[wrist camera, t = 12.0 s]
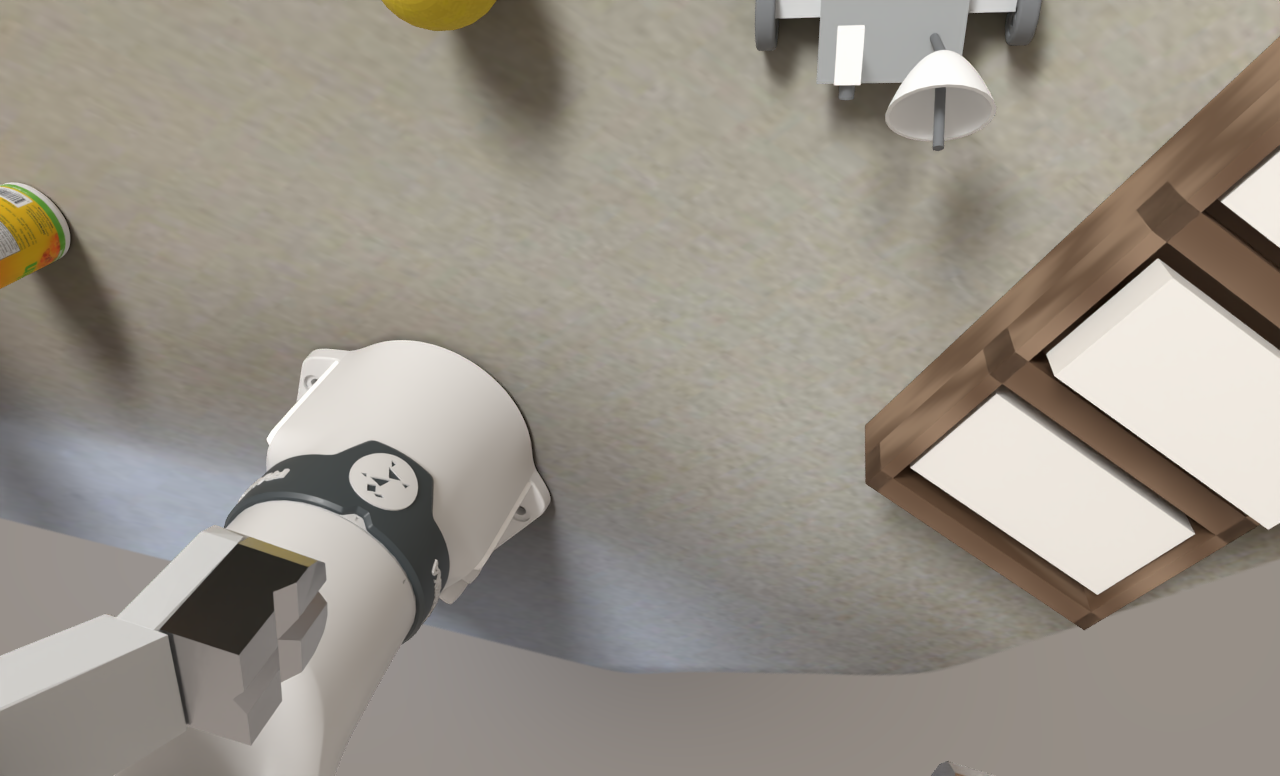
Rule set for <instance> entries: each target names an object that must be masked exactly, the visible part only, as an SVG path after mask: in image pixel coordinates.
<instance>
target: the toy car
mask: <svg viewBox="0 0 1280 776" xmlns="http://www.w3.org/2000/svg"><path fill="white" fill-rule="evenodd" d="M1041 2H1042V0H756V7H755V40H756V47H757V49H758V50H759V51H768V50H775V49H776V46H777V40H778V30H779V18H811V17H820V30H819V49H818V68H817V84H834V85H839V97H838V98H839V99H841V100H851V99H854V91H855V85H861V83H902V84H901V85H900V87H899V89H898V90H897V92H896V94H895V95H894V97H893V99H892V101H891V103H890V105H889V107H888V109H887V111H886V114H885V120H886V123H887V125H888V127H889V128H890V129H891V130H892V131H894V132H895V133H896V134H898V135H901V136H903V137H906V138H909V139H914V140H918V141H933V150H935V151H940V150H942V149H943V148H944V141H947V140H952V139H957V138H961V137H964V136H967V135H970V134H973V133H975V132H977V131H979V130H980V129H982V128H984V127H985V126H986V125H987V124H989V123H990V122H991V120H992V119H993V117H994V116H995V114H996V104H995V102H994V99H993V97H992V95H991V93H990V91H989V90H988V88H987V86H986V84H985V82H984V81H983V79H982V78H981V76H980V75H979V73H978V72H977V71H976V69H975V68H974V67H973V66H972V65H971V64H970V63H969V62H968V61H967V60H966V59H965V58H964V57H963V56H962V53H963V46H964V39H965V31H966V24H967V17H968V13H984V12H1008V14H1007V17H1006V23H1005V38H1006V42H1007V44H1008V45H1027V44H1029V43H1030V42H1031V40H1032V38H1033V36H1034V33H1035V30H1036V27H1037V23H1038V19H1039V14H1040V9H1041Z"/></svg>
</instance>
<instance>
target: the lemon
mask: <svg viewBox="0 0 1280 776" xmlns="http://www.w3.org/2000/svg"><path fill="white" fill-rule="evenodd" d="M382 1H383V3H384V4H385V5H386V7H387V8H388V9H389V10H391V11H392V12H393V13H394V14H395V15H396V16H397V17H399V18H400V19H402V20H404V21H406V22H408V23H409V24H411V25H413V26H416V27H420V28H424V29H428V30H433V31H445V30H456V29H459V28H462V27H465V26H468V25H471V24H473V23H474V22H476V21H477V20H478V19H480V18H481V17H482V16H484V15H485V14H486V13H488V11H489V10H490V9H491V7H492V6H493V5H494V3H495V2H496V1H497V0H382Z"/></svg>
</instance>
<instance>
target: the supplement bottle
mask: <svg viewBox="0 0 1280 776" xmlns="http://www.w3.org/2000/svg"><path fill="white" fill-rule="evenodd" d="M69 246H70V231H69V227H68V224H67V222H66V220H65V218H64V216H63V215H62V213H61V212H60V210H59V209H58V208H57V207H56V205H55V204H54V203H53V202H52V201H51V200H50V199H49V198H48V197H46V196H45V195H44V194H42V193H41V192H39V191H38V190H36V189H35V188H33V187H31V186H28V185H25V184H21V183H6V184H3V185H0V289H1V288H3V287H5V286H7V285H9V284H11V283H13V282H15V281H17V280H19V279H21V278H23V277H25V276H27V275H29V274H31V273H33V272H35V271H37V270H39V269H41V268H43V267H45V266H47V265H49V264H50V263H52V262H54V261H56V260H58V259H60V258H62V257H63V256H64V255H65V254H66V253H67V251H68V249H69Z"/></svg>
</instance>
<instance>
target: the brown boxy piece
mask: <svg viewBox="0 0 1280 776" xmlns="http://www.w3.org/2000/svg"><path fill="white" fill-rule="evenodd" d="M1279 145H1280V37H1278V38H1277V39H1276V40H1275V41H1274V42H1273V43H1272V44H1271V45H1270V46H1269V47H1268V48H1267V49H1266V50H1265V51H1264V52H1262V53H1261V54H1260V55H1259V56H1258V57H1257V58H1256V59H1255V60H1254V61H1253V62H1252V63H1251V64H1250V65H1249V66H1248V67H1247V68H1245V69H1244V70H1243V71H1242V72H1241V73H1240V74H1239V75H1238V76H1237V77H1236V78H1235V79H1234V80H1233V81H1232V82H1231V83H1229V84H1228V85H1227V86H1226V87H1225V88H1224V89H1223V90H1222V91H1221V92H1220V93H1219V94H1218V95H1217V96H1216V97H1215V98H1213V99H1212V100H1211V101H1210V102H1209V103H1208V104H1207V105H1206V106H1205V107H1204V108H1203V109H1202V110H1201V111H1200V112H1199V113H1198V114H1196V115H1195V116H1194V117H1193V118H1192V119H1191V120H1190V121H1189V122H1188V123H1187V124H1186V125H1185V126H1184V127H1183V128H1182V129H1180V130H1179V131H1178V132H1177V133H1176V134H1175V135H1174V136H1173V137H1172V138H1171V139H1170V140H1169V141H1168V142H1167V143H1166V144H1165V145H1163V146H1162V147H1161V148H1160V149H1159V150H1158V151H1157V152H1156V153H1155V154H1154V155H1153V156H1152V157H1151V158H1150V159H1149V160H1147V161H1146V162H1145V163H1144V164H1143V165H1142V166H1141V167H1140V168H1139V169H1138V170H1137V171H1136V172H1135V173H1134V174H1133V175H1131V176H1130V177H1129V178H1128V179H1127V180H1126V181H1125V182H1124V183H1123V184H1122V185H1121V186H1120V187H1119V188H1118V189H1117V190H1116V191H1114V192H1113V193H1112V194H1111V195H1110V196H1109V197H1108V198H1107V199H1106V200H1105V201H1104V202H1103V203H1102V204H1101V205H1100V206H1098V207H1097V208H1096V209H1095V210H1094V211H1093V212H1092V213H1091V214H1090V215H1089V216H1088V217H1087V218H1086V219H1085V220H1084V221H1082V222H1081V223H1080V224H1079V225H1078V226H1077V227H1076V228H1075V229H1074V230H1073V231H1072V232H1071V233H1070V234H1069V235H1068V236H1067V237H1065V238H1064V239H1063V240H1062V241H1061V242H1060V243H1059V244H1058V245H1057V246H1056V247H1055V248H1054V249H1053V250H1052V251H1051V252H1049V253H1048V254H1047V255H1046V256H1045V257H1044V258H1043V259H1042V260H1041V261H1040V262H1039V263H1038V264H1037V265H1036V266H1035V267H1033V268H1032V269H1031V270H1030V271H1029V272H1028V273H1027V274H1026V275H1025V276H1024V277H1023V278H1022V279H1021V280H1020V281H1019V282H1018V283H1016V284H1015V285H1014V286H1013V287H1012V288H1011V289H1010V290H1009V291H1008V292H1007V293H1006V294H1005V295H1004V296H1003V297H1002V298H1000V299H999V300H998V301H997V302H996V303H995V304H994V305H993V306H992V307H991V308H990V309H989V310H988V311H987V312H986V313H984V314H983V315H982V316H981V317H980V318H979V319H978V320H977V321H976V322H975V323H974V324H973V325H972V326H971V327H970V328H969V329H967V330H966V331H965V332H964V333H963V334H962V335H961V336H960V337H959V338H958V339H957V340H956V341H955V342H954V343H953V344H951V345H950V346H949V347H948V348H947V349H946V350H945V351H944V352H943V353H942V354H941V355H940V356H939V357H938V358H937V359H935V360H934V361H933V362H932V363H931V364H930V365H929V366H928V367H927V368H926V369H925V370H924V371H923V372H922V373H921V374H920V375H918V376H917V377H916V378H915V379H914V380H913V381H912V382H911V383H910V384H909V385H908V386H907V387H906V388H905V389H904V390H902V391H901V392H900V393H899V394H898V395H897V396H896V397H895V398H894V399H893V400H892V401H891V402H890V403H889V404H888V405H886V406H885V407H884V408H883V409H882V410H881V411H880V412H879V413H878V414H877V415H876V416H875V417H874V418H873V419H872V420H871V421H869V422H868V423H867V424H866V425H865V476H866V484H867V485H868V486H870V487H871V488H873V489H874V490H876V491H877V492H879V493H880V494H882V495H883V496H885V497H886V498H888V499H889V500H891V501H892V502H894V503H895V504H897V505H898V506H900V507H901V508H903V509H904V510H906V511H907V512H909V513H910V514H912V515H913V516H915V517H916V518H918V519H919V520H921V521H922V522H924V523H925V524H927V525H928V526H930V527H931V528H933V529H934V530H935V531H937V532H938V533H940V534H941V535H943V536H944V537H946V538H947V539H949V540H950V541H952V542H953V543H955V544H956V545H958V546H959V547H961V548H962V549H964V550H965V551H967V552H968V553H970V554H971V555H973V556H974V557H976V558H977V559H979V560H980V561H982V562H983V563H985V564H986V565H988V566H989V567H991V568H992V569H994V570H995V571H997V572H998V573H1000V574H1001V575H1003V576H1004V577H1006V578H1007V579H1009V580H1010V581H1012V582H1013V583H1015V584H1016V585H1018V586H1019V587H1021V588H1022V589H1024V590H1025V591H1026V592H1028V593H1029V594H1031V595H1032V596H1034V597H1035V598H1037V599H1038V600H1040V601H1041V602H1043V603H1044V604H1046V605H1047V606H1049V607H1050V608H1052V609H1053V610H1055V611H1056V612H1058V613H1059V614H1061V615H1062V616H1064V617H1065V618H1067V619H1068V620H1070V621H1071V622H1073V623H1074V624H1076V625H1077V626H1079V627H1080V628H1082V629H1083V630H1085V629H1087V628H1089V627H1091V626H1092V625H1094V624H1096V623H1097V622H1099V621H1101V620H1102V619H1104V618H1106V617H1107V616H1109V615H1111V614H1112V613H1114V612H1116V611H1117V610H1119V609H1121V608H1122V607H1124V606H1126V605H1127V604H1129V603H1131V602H1132V601H1134V600H1135V599H1137V598H1139V597H1140V596H1142V595H1144V594H1145V593H1147V592H1149V591H1150V590H1152V589H1154V588H1155V587H1157V586H1159V585H1160V584H1162V583H1164V582H1165V581H1167V580H1169V579H1170V578H1172V577H1174V576H1175V575H1177V574H1179V573H1180V572H1182V571H1184V570H1185V569H1187V568H1189V567H1190V566H1192V565H1194V564H1195V563H1197V562H1199V561H1200V560H1202V559H1204V558H1205V557H1207V556H1209V555H1210V554H1212V553H1214V552H1215V551H1217V550H1219V549H1220V548H1222V547H1224V546H1225V545H1227V544H1229V543H1230V542H1232V541H1234V540H1235V539H1237V538H1239V537H1240V536H1242V535H1244V534H1245V533H1247V532H1249V531H1250V530H1252V529H1254V528H1255V527H1257V526H1259V525H1260V523H1258V522H1257V521H1256V520H1254V519H1253V518H1251V517H1250V516H1249V515H1247V514H1246V513H1244V512H1243V511H1242V510H1240V509H1239V508H1237V507H1236V506H1235V505H1233V504H1232V503H1230V502H1229V501H1228V500H1226V499H1225V498H1224V497H1222V496H1221V495H1219V494H1218V493H1217V492H1215V491H1214V490H1212V489H1211V488H1210V487H1208V486H1207V485H1205V484H1204V483H1203V482H1201V481H1200V480H1198V479H1197V478H1196V477H1194V476H1193V475H1191V474H1190V473H1189V472H1187V471H1186V470H1185V469H1183V468H1182V467H1180V466H1179V465H1178V464H1176V463H1175V462H1173V461H1172V460H1171V459H1169V458H1168V457H1166V456H1165V455H1164V454H1162V453H1161V452H1159V451H1158V450H1157V449H1155V448H1154V447H1152V446H1151V445H1150V444H1148V443H1147V442H1146V441H1144V440H1143V439H1141V438H1140V437H1139V436H1137V435H1136V434H1134V433H1133V432H1132V431H1130V430H1129V429H1127V428H1126V427H1125V426H1123V425H1122V424H1120V423H1119V422H1118V421H1116V420H1115V419H1114V418H1112V417H1111V416H1109V415H1108V414H1107V413H1105V412H1104V411H1102V410H1101V409H1100V408H1098V407H1097V406H1095V405H1094V404H1093V403H1091V402H1090V401H1088V400H1087V399H1086V398H1084V397H1083V396H1081V395H1080V394H1079V393H1077V392H1076V391H1075V390H1073V389H1072V388H1070V387H1069V386H1068V385H1066V384H1065V383H1063V382H1062V381H1061V380H1059V379H1058V378H1056V377H1055V376H1054V374H1053V371H1052V368H1051V366H1050V363H1049V360H1048V358H1047V355H1046V354H1047V353H1048V352H1049V351H1050V350H1051V349H1052V348H1054V347H1055V346H1056V345H1057V344H1058V343H1059V342H1061V341H1062V340H1063V339H1064V338H1065V337H1066V336H1068V335H1069V334H1070V333H1071V332H1072V331H1073V330H1075V329H1076V328H1077V327H1078V326H1079V325H1080V324H1082V323H1083V322H1084V321H1085V320H1086V319H1087V318H1089V317H1090V316H1091V315H1092V314H1093V313H1094V312H1096V311H1097V310H1098V309H1099V308H1100V307H1101V306H1103V305H1104V304H1105V303H1106V302H1107V301H1108V300H1110V299H1111V298H1112V297H1113V296H1114V295H1116V294H1117V293H1118V292H1119V291H1120V290H1121V289H1123V288H1124V287H1125V286H1126V285H1127V284H1128V283H1130V282H1131V281H1132V280H1133V279H1134V278H1135V277H1137V276H1138V275H1139V274H1140V273H1141V272H1142V271H1144V270H1145V269H1146V268H1147V267H1148V266H1149V265H1151V264H1152V263H1153V262H1154V261H1155V260H1156V259H1160V260H1161V261H1162V262H1164V263H1165V264H1166V265H1168V266H1169V267H1170V268H1172V269H1173V270H1174V271H1176V272H1177V273H1178V274H1180V275H1181V276H1182V277H1183V278H1185V279H1186V280H1187V281H1189V282H1190V283H1191V284H1193V285H1194V286H1195V287H1197V288H1198V289H1199V290H1201V291H1202V292H1203V293H1205V294H1206V295H1207V296H1209V297H1210V298H1211V299H1212V300H1214V301H1215V302H1216V303H1218V304H1219V305H1220V306H1222V307H1223V308H1224V309H1226V310H1227V311H1228V312H1230V313H1231V314H1232V315H1234V316H1235V317H1236V318H1238V319H1239V320H1240V321H1241V322H1243V323H1244V324H1245V325H1247V326H1248V327H1249V328H1251V329H1252V330H1253V331H1255V332H1256V333H1257V334H1259V335H1260V336H1261V337H1263V338H1264V339H1265V340H1267V341H1268V342H1269V343H1271V344H1272V345H1273V346H1274V347H1276V348H1277V349H1278V350H1280V248H1279V247H1278V246H1277V245H1276V244H1274V243H1273V242H1272V241H1270V240H1269V239H1268V238H1267V237H1265V236H1264V235H1263V234H1261V233H1260V232H1259V231H1258V230H1256V229H1255V228H1254V227H1252V226H1251V225H1250V224H1249V223H1247V222H1246V221H1245V220H1244V219H1242V218H1241V217H1240V216H1238V215H1237V214H1236V213H1235V212H1233V211H1232V210H1231V209H1229V208H1228V207H1227V206H1226V205H1224V204H1223V203H1222V202H1221V201H1220V200H1218V199H1217V198H1219V197H1220V196H1221V195H1222V194H1223V193H1224V192H1226V191H1227V190H1228V189H1229V188H1230V187H1231V186H1233V185H1234V184H1235V183H1236V182H1237V181H1238V180H1239V179H1241V178H1242V177H1243V176H1244V175H1245V174H1246V173H1248V172H1249V171H1250V170H1251V169H1252V168H1253V167H1255V166H1256V165H1257V164H1258V163H1259V162H1260V161H1262V160H1263V159H1264V158H1265V157H1266V156H1267V155H1268V154H1270V153H1271V152H1272V151H1273V150H1274V149H1275V148H1277V147H1278V146H1279ZM1002 384H1003V385H1005V386H1006V387H1007V388H1009V389H1010V390H1012V391H1013V392H1014V393H1016V394H1017V395H1019V396H1020V397H1022V398H1023V399H1024V400H1026V401H1027V402H1029V403H1030V404H1031V405H1033V406H1034V407H1036V408H1037V409H1038V410H1040V411H1041V412H1043V413H1044V414H1045V415H1047V416H1048V417H1050V418H1051V419H1053V420H1054V421H1055V422H1057V423H1058V424H1060V425H1061V426H1062V427H1064V428H1065V429H1067V430H1068V431H1069V432H1071V433H1072V434H1074V435H1075V436H1077V437H1078V438H1079V439H1081V440H1082V441H1084V442H1085V443H1086V444H1088V445H1089V446H1091V447H1092V448H1093V449H1095V450H1096V451H1098V452H1099V453H1100V454H1102V455H1103V456H1105V457H1106V458H1108V459H1109V460H1110V461H1112V462H1113V463H1115V464H1116V465H1117V466H1119V467H1120V468H1122V469H1123V470H1124V471H1126V472H1127V473H1129V474H1130V475H1132V476H1133V477H1134V478H1136V479H1137V480H1139V481H1140V482H1141V483H1143V484H1144V485H1146V486H1147V487H1148V488H1150V489H1151V490H1153V491H1154V492H1156V493H1157V494H1158V495H1160V496H1161V497H1163V498H1164V499H1165V500H1167V501H1168V502H1170V503H1171V504H1172V505H1174V506H1175V507H1177V508H1178V509H1179V510H1181V511H1182V512H1184V513H1185V514H1186V516H1187V518H1188V521H1189V523H1190V525H1191V527H1192V529H1193V531H1194V533H1195V534H1194V535H1193V536H1191V537H1190V538H1188V539H1186V540H1185V541H1183V542H1182V543H1180V544H1178V545H1177V546H1175V547H1174V548H1172V549H1170V550H1169V551H1167V552H1166V553H1164V554H1162V555H1161V556H1159V557H1158V558H1156V559H1154V560H1153V561H1151V562H1149V563H1148V564H1146V565H1145V566H1143V567H1141V568H1140V569H1138V570H1137V571H1135V572H1133V573H1132V574H1130V575H1129V576H1127V577H1125V578H1124V579H1122V580H1121V581H1119V582H1117V583H1116V584H1114V585H1113V586H1111V587H1109V588H1108V589H1106V590H1105V591H1103V592H1101V593H1100V594H1098V595H1097V594H1095V593H1094V592H1092V591H1091V590H1089V589H1088V588H1087V587H1085V586H1084V585H1082V584H1081V583H1079V582H1078V581H1076V580H1075V579H1073V578H1072V577H1070V576H1069V575H1067V574H1066V573H1064V572H1063V571H1061V570H1060V569H1059V568H1057V567H1056V566H1054V565H1053V564H1051V563H1050V562H1048V561H1047V560H1045V559H1044V558H1042V557H1041V556H1039V555H1038V554H1036V553H1035V552H1034V551H1032V550H1031V549H1029V548H1028V547H1026V546H1025V545H1023V544H1022V543H1020V542H1019V541H1017V540H1016V539H1014V538H1013V537H1011V536H1010V535H1008V534H1007V533H1006V532H1004V531H1003V530H1001V529H1000V528H998V527H997V526H995V525H994V524H992V523H991V522H989V521H988V520H986V519H985V518H983V517H982V516H981V515H979V514H978V513H976V512H975V511H973V510H972V509H970V508H969V507H967V506H966V505H964V504H963V503H961V502H960V501H958V500H957V499H956V498H954V497H953V496H951V495H950V494H948V493H947V492H945V491H944V490H942V489H941V488H939V487H938V486H936V485H935V484H933V483H932V482H930V481H929V480H928V479H926V478H925V477H923V476H922V475H920V474H919V473H917V472H916V471H914V470H913V469H911V468H910V463H911V462H912V461H913V460H915V459H916V458H917V457H918V456H919V455H920V454H922V453H923V452H924V451H925V450H926V449H927V448H929V447H930V446H931V445H932V444H933V443H934V442H936V441H937V440H938V439H939V438H940V437H941V436H942V435H944V434H945V433H946V432H947V431H948V430H949V429H951V428H952V427H953V426H954V425H955V424H956V423H958V422H959V421H960V420H961V419H962V418H963V417H965V416H966V415H967V414H968V413H969V412H970V411H971V410H973V409H974V408H975V407H976V406H977V405H978V404H980V403H981V402H982V401H983V400H984V399H985V398H987V397H988V396H989V395H990V394H991V393H992V392H994V391H995V390H996V389H997V388H998V387H999V386H1000V385H1002Z"/></svg>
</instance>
